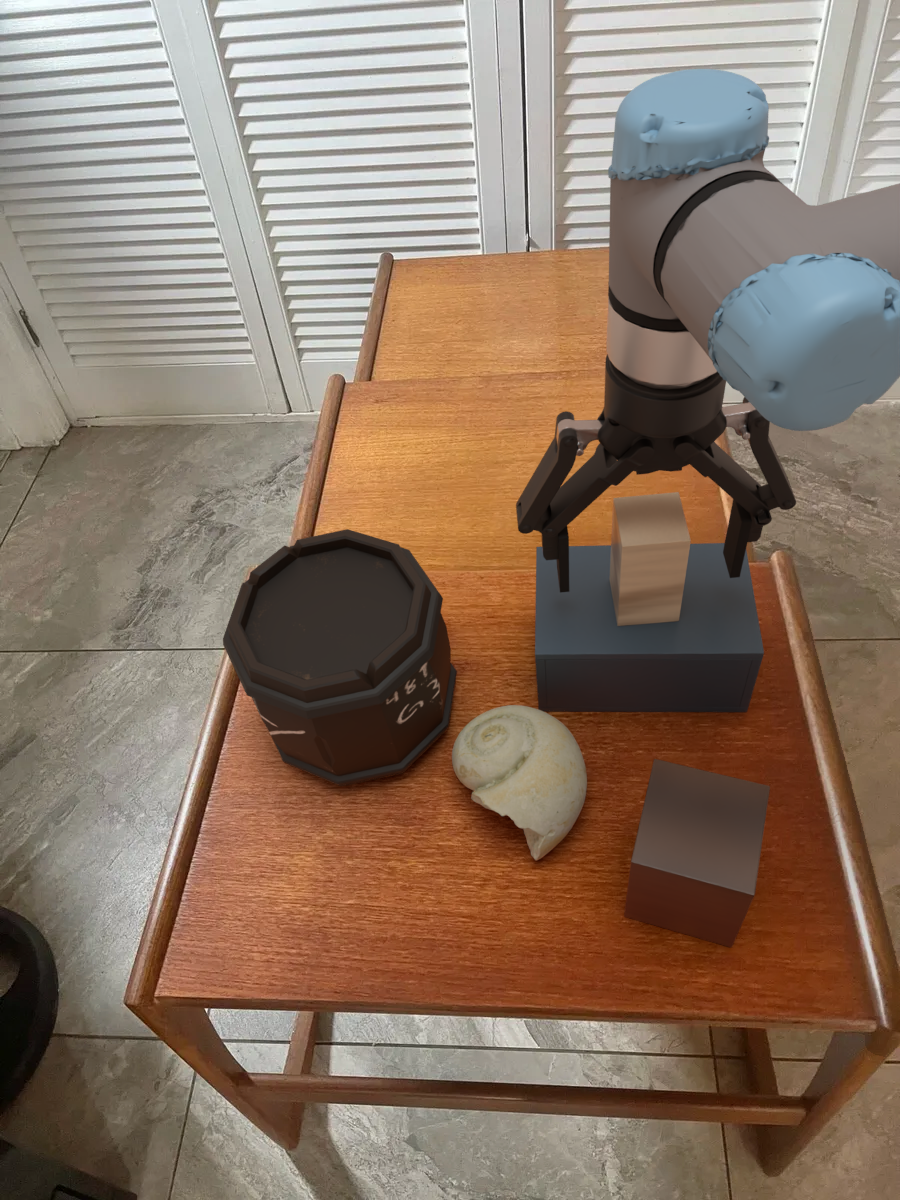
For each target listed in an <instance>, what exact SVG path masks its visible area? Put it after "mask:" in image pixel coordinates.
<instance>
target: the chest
mask: <svg viewBox="0 0 900 1200" xmlns="http://www.w3.org/2000/svg"><path fill="white" fill-rule="evenodd" d="M534 661H535V679H536V691H537V705H538V707H537V709H538V710H541V711H544V712H546V713H547V712H548V713H549V712H554V713H555V712H556V713H557V712H559V713H561V712H563V713H564V712H565V713H567V712H569V713H570V712H571V713H572V712H575V713H576V712H578V713H579V712H581V713H583V712H585V713H586V712H588V713H591V712H592V713H595V712H596V713H747V712H748V710H749V707H750V703H751V700H752V696H753V692H754V689H755V687H756V683H757V679H758V675H759V672H760V668H761V666H762V662H763V658H762V659H558V660H536V659H535V658H534Z"/></svg>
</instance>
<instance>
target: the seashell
mask: <svg viewBox="0 0 900 1200" xmlns="http://www.w3.org/2000/svg"><path fill="white" fill-rule="evenodd" d="M451 766H452V769H453V771H454V774H455V776H456V777H457V778H458V780H459V782H460V783H461V784H462V785H463V786H464V787H466V788H467V789H470V790H471V791H472V792H471V797H470V799H471V800H472V801H473V802H474V803H475V804H478V805H480V806H482V807H483V808H484V809H487V810H489V811H493V812H495V813H497V814H499V815H500V816H501V817H505V816H508V817H509V818H510V819H511V821H513V823H514V825H515V826H516V827H518V828H519V829H521V830H523V834H524V836H525V838H526V839H525V840H526V844H527V846H528V849H529V850H530V856H531V857H532V858H533V859H534V861H539V860H541V859H542V858H544V857H545V856H546V855H547V854H549V853H550V852H551V851H552V850H553V849H554V848H556V846H558V844H560V842H562V841H563V840H564V839H565V838H566V836H567V835H568V834H569V833H570V831H571V830H572V829H573V827H574V825H575V823H576V822H577V820H578V818H579V816H580V813H581V812H582V809H583V806H584V804H585V801H586V797H587V789H588V774H587V767H586V763H585V759H584V755H583V753H582V751H581V747H580V745H579V744H578V741H577V740H576V738H575V737H574V735H573V733H572V732H571V730H569V728H568V727H567V725H565V724H564V723H563V722H562V721H560V720H559V719H557V718H556V717H555V716H553V715H552V714H550V713H549V712H548V713H547V712H544V711H541V710H539V709H538V708H535V707H531V706H527V705H521V704H520V705H519V704H508V705H502V706H498V707H494V708H491V709H488V710H487V711H484V712H483V713H480V714H479V715H477V716H476V717H474V718H473V719H472V720H470V721H469V722H467V724H466V725H465V726H464V727H463V728H462V729H461V730H460V732H459V733H458V735H457V736H456V739H455V741H454V742H453V747H452V751H451Z"/></svg>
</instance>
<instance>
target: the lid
mask: <svg viewBox="0 0 900 1200" xmlns="http://www.w3.org/2000/svg"><path fill="white" fill-rule="evenodd" d="M724 544H725V542H708V543H707V542H704V543H703V542H702V543H690V549H689V556H688V563H687V569H686V576H685V583H684V590H683V596H682V603H681V610H680V616H679V621H674V622H662V623H650V624H637V625H625V626H617V621H616V615H615V609H614V603H613V597H612V591H611V585H610V560H611V544H608V545H607V544H606V545H605V544H604V545H601V544H600V545H569V592H560V588H559V580H558V572H557V560H546V559H545V558H544V557H543V548H542V546H536V548H535V549H536V555H535V557H536V558H535V559H536V560H535V563H536V564H535V615H534V616H535V617H534V618H535V619H534V620H535V622H534V626H535V627H534V660H535V659H536V660H558V659H762V660H763V659H764V655H765V649H764V645H763V639H762V632H761V627H760V622H759V616H758V610H757V603H756V598H755V597H756V596H755V591H754V586H753V580H752V573H751V568H750V563H749V557H748V552H747V551H748V550H747V549H746V551H745V556H744V560H743V565H742V569H741V573H740V577H736V578H730V576H729V573H728V569H727V565H726V562H725V558H724V554H723V549H724Z"/></svg>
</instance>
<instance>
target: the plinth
mask: <svg viewBox="0 0 900 1200" xmlns="http://www.w3.org/2000/svg"><path fill="white" fill-rule="evenodd" d="M652 762H653V763H652V766H651V770H650V773H649V774H650V775H649V779H648V783H647V788H646V791H645V797H644V801H643V805H642V809H641V815H640V819H639V823H638V828H637V832H636V836H635V840H634V845H633V850H632V855H631V859H630V864H629V874H628V879H627V880H628V882H627V888H626V898H625V905H624V912H623V913H624V914H623V917H625V918H628V919H631V920H634V921H638V922H642V923H645V924H647V925H648V924H649V925H651V926H654V927H655V926H656V927H658V928H662V929H665V930H668V931H673V932H675V933H680V934H683V935H687V936H690V937H694V938H697V939H700V940H703V941H707V942H709V943H713V944H714V943H715V944H717V945H721V946H724V947H727V948H733V946H734V944H735V941H736V938H737V937H738V934H739V932H740V930H741V927H742V926H743V923H744V921H745V919H746V916H747V914H748V912H749V909H750V908H751V905H752V903H753V900H754V899H755V895H756V891H757V890H756V889H757V882H758V875H759V867H760V860H761V854H762V846H763V841H764V840H763V839H764V832H765V825H766V818H767V810H768V806H769V805H768V804H769V797H770V792H771V791H770V790H771V786H770V785H766V784H763V783H759V782H754V781H752V780H751V781H750V780H746V779H743V778H737V777H733V776H730V775H725V774H720V773H716V772H713V771H709V770H704V769H699V768H697V767H692V766H688V765H684V764H679V763H674V762H670V761H666V760H662V759H658V758H654V759H653V761H652Z"/></svg>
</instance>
